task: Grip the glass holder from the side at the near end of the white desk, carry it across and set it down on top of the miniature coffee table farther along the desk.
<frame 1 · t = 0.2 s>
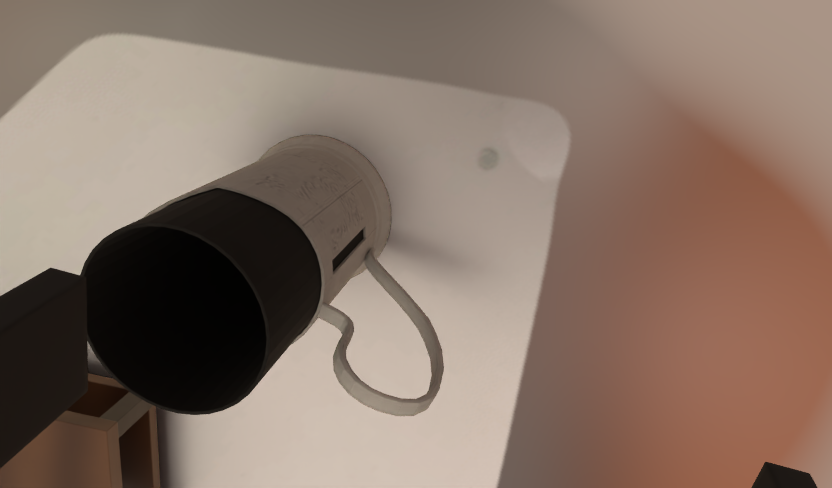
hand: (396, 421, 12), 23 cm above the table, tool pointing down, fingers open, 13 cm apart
miniature coffee table: (76, 422, 46), on the table
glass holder: (360, 231, 37), on the table
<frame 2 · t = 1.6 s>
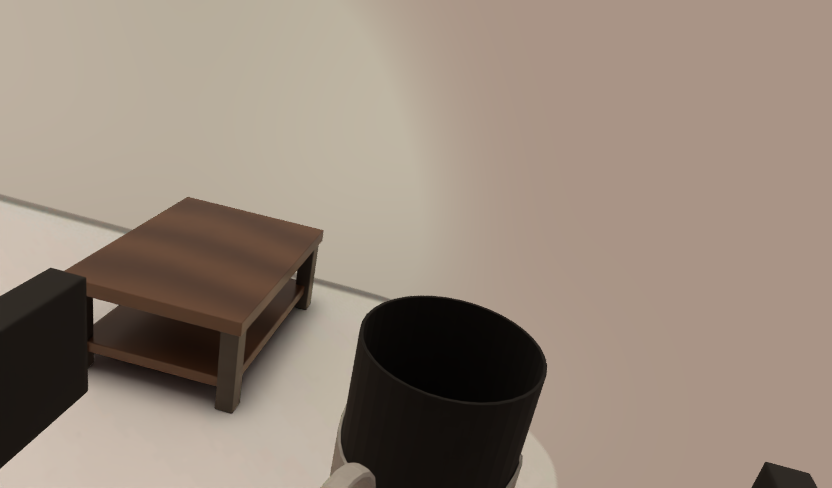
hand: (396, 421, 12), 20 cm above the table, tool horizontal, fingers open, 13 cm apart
miniature coffee table: (204, 331, 49), on the table
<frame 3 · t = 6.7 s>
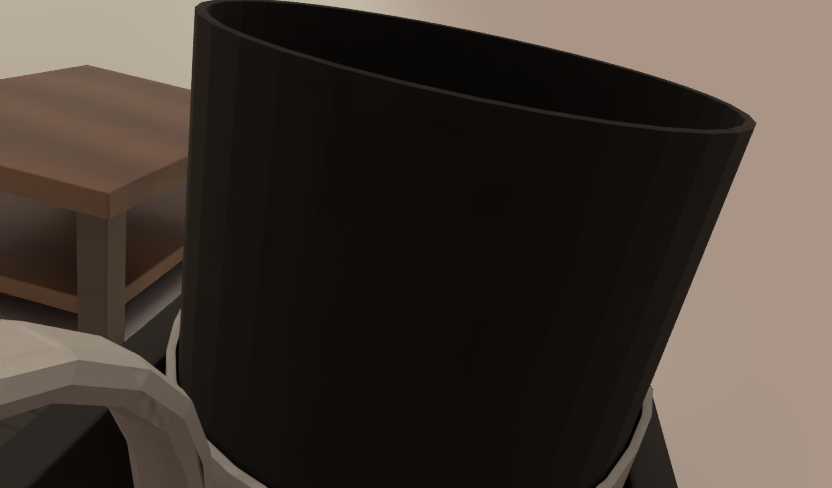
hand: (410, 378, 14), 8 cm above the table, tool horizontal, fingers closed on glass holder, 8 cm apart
miniature coffee table: (95, 248, 32), on the table
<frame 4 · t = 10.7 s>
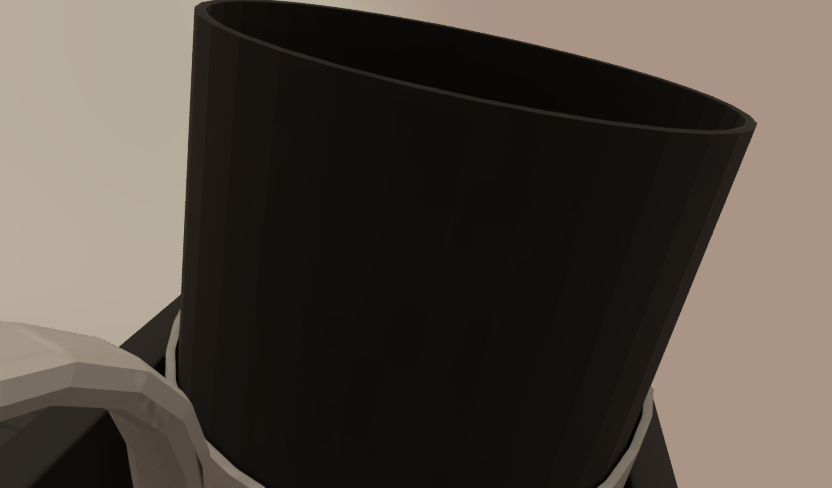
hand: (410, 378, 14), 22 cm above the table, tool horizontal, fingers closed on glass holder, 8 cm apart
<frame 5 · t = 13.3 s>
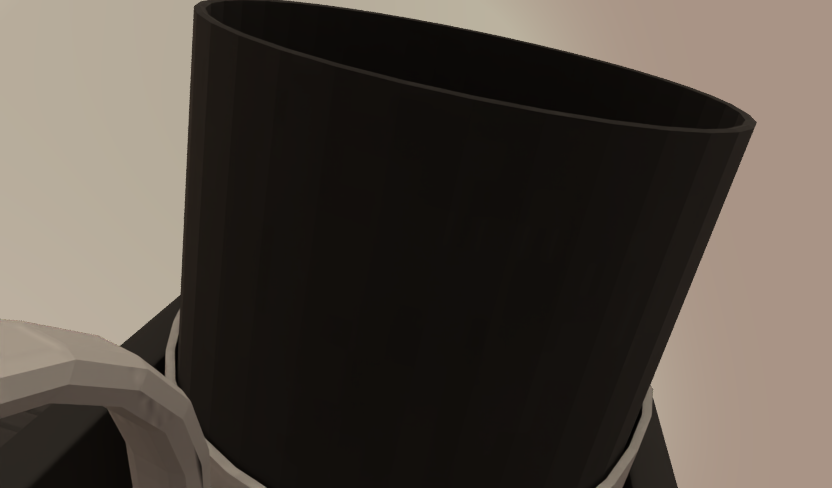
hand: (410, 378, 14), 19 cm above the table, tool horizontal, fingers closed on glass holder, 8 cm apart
when the fingers open (15 cm above the table, at t = 15.0 s): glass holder stays where it is, resting on miniature coffee table.
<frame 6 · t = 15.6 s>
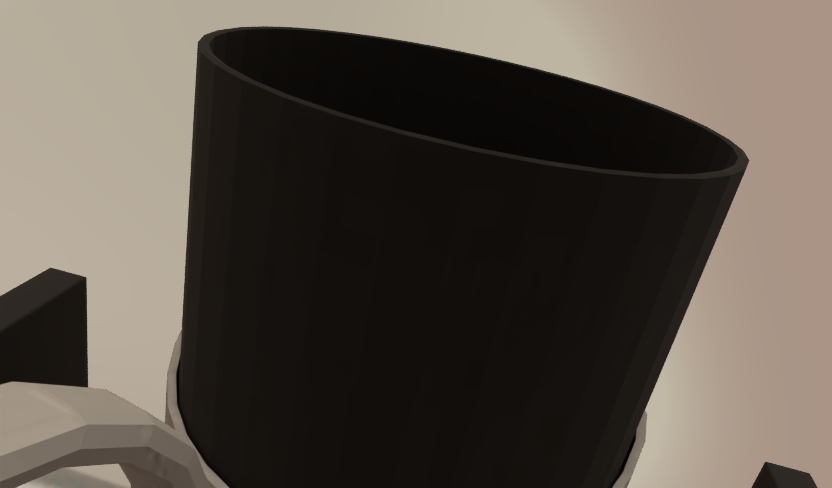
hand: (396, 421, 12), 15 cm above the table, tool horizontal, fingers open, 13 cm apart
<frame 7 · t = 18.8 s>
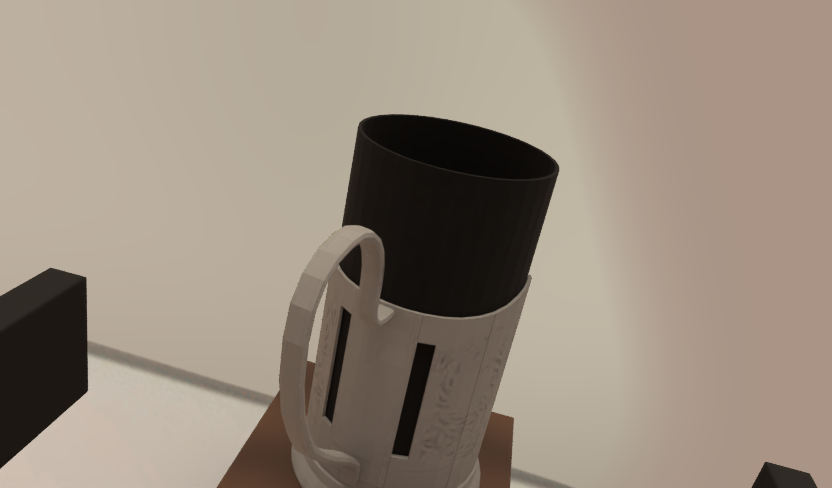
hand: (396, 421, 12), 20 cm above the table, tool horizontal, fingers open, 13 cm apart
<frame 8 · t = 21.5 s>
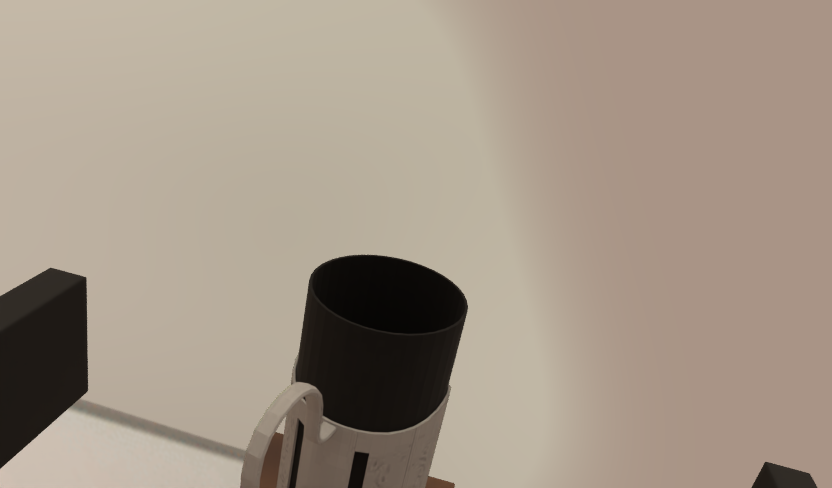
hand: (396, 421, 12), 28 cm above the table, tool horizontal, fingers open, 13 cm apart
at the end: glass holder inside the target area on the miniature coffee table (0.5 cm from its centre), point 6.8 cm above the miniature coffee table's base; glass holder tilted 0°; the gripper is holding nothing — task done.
